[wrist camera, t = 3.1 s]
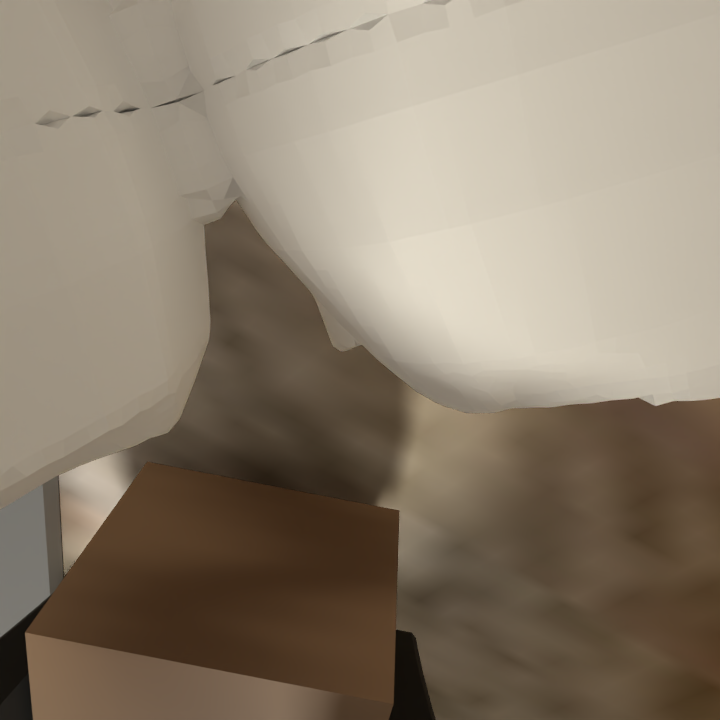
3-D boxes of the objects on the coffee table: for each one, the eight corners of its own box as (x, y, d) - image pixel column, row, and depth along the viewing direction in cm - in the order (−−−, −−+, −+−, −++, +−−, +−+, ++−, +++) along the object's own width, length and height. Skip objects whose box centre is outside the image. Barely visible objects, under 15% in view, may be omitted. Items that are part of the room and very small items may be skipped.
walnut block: (399, 510, 11) (393, 704, 8) (355, 681, 14) (335, 895, 10) (147, 461, 11) (25, 632, 8) (142, 639, 14) (44, 838, 10)
